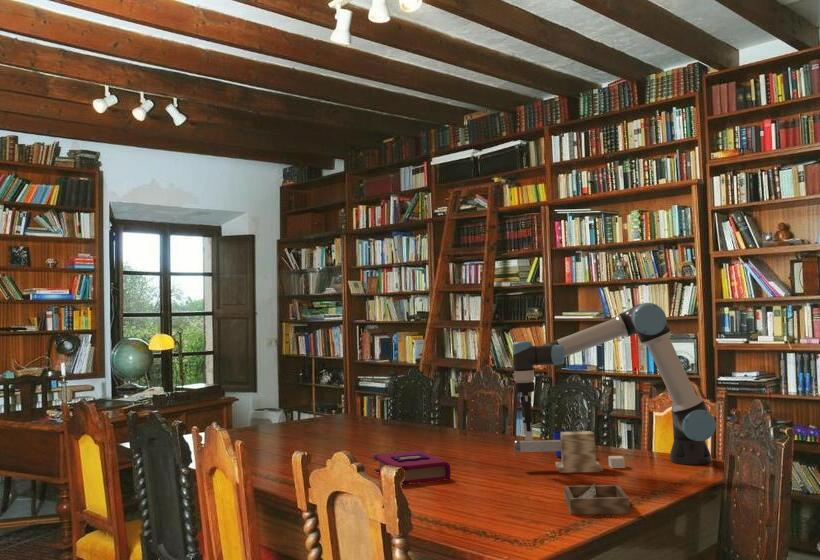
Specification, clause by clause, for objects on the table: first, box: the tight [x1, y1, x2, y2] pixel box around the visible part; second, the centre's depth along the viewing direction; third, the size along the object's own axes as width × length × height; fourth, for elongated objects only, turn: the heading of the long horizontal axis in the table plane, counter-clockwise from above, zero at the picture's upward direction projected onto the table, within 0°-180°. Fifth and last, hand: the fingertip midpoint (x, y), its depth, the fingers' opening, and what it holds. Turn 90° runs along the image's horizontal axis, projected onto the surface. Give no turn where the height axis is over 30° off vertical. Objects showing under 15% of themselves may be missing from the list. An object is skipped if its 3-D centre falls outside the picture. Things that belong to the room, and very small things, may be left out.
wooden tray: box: [563, 484, 631, 515], centre depth 226 cm, size 17×17×4 cm
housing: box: [555, 430, 604, 474], centre depth 283 cm, size 16×14×13 cm
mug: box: [552, 430, 572, 459], centre depth 307 cm, size 8×12×10 cm
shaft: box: [513, 439, 563, 453], centre depth 284 cm, size 28×4×4 cm, turn 84°
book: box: [373, 450, 452, 486], centre depth 282 cm, size 21×28×8 cm
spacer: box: [608, 455, 626, 469], centre depth 282 cm, size 5×5×4 cm
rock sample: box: [578, 483, 599, 498], centre depth 229 cm, size 10×8×9 cm
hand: (528, 437), depth 285 cm, fingers open, 13 cm apart
